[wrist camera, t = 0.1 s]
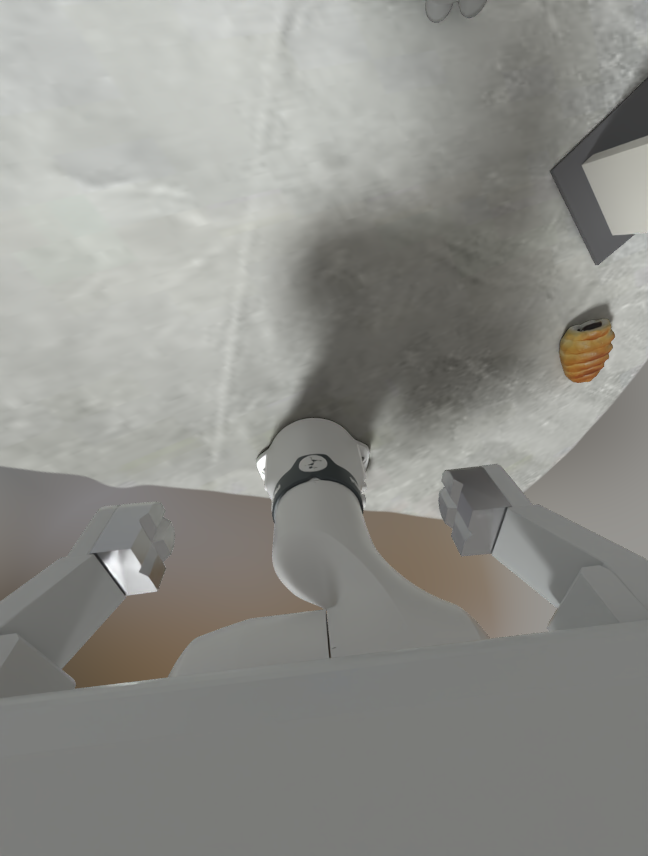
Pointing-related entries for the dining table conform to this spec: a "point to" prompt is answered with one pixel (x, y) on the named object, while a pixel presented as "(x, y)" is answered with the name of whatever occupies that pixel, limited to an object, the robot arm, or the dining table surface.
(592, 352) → the pastry
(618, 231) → the tile
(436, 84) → the dining table surface
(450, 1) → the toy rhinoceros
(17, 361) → the dining table surface
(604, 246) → the mat
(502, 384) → the dining table surface
